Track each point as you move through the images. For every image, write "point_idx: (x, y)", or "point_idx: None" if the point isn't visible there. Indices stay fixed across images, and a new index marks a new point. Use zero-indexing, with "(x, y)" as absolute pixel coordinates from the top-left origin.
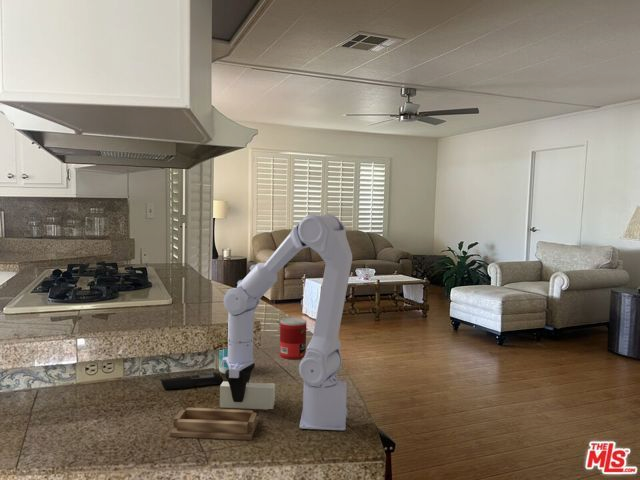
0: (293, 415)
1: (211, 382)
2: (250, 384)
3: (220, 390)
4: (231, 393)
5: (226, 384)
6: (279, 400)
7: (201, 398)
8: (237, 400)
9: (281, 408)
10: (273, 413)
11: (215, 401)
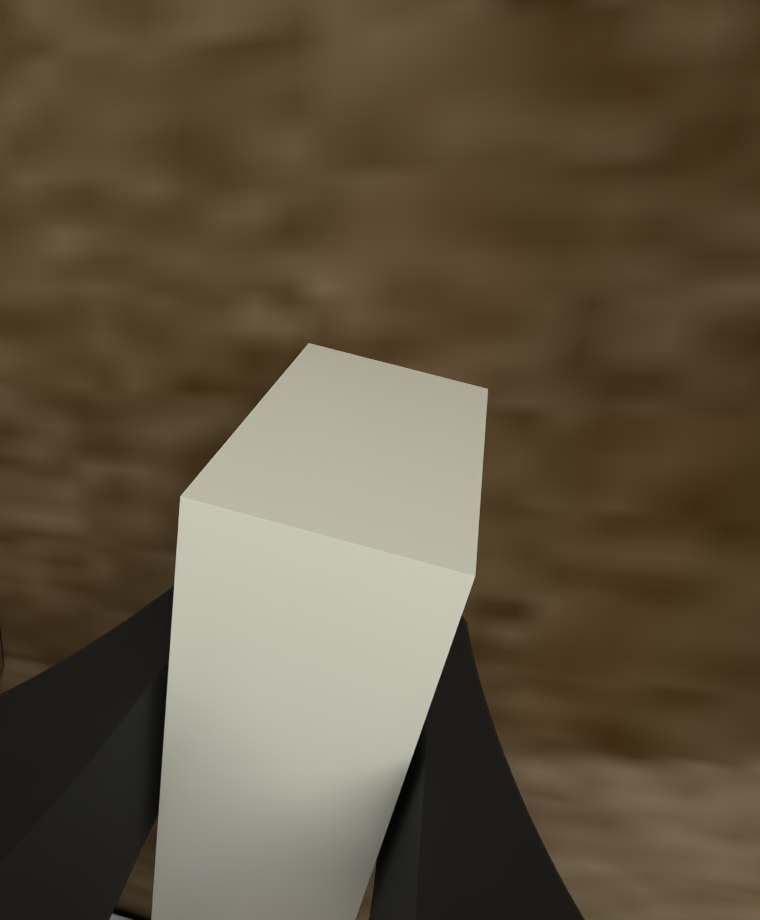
0: (132, 874)
1: None
2: (268, 902)
3: (219, 460)
4: (152, 603)
5: (275, 617)
6: None
7: (751, 16)
8: None
9: None
10: None
11: (539, 286)
